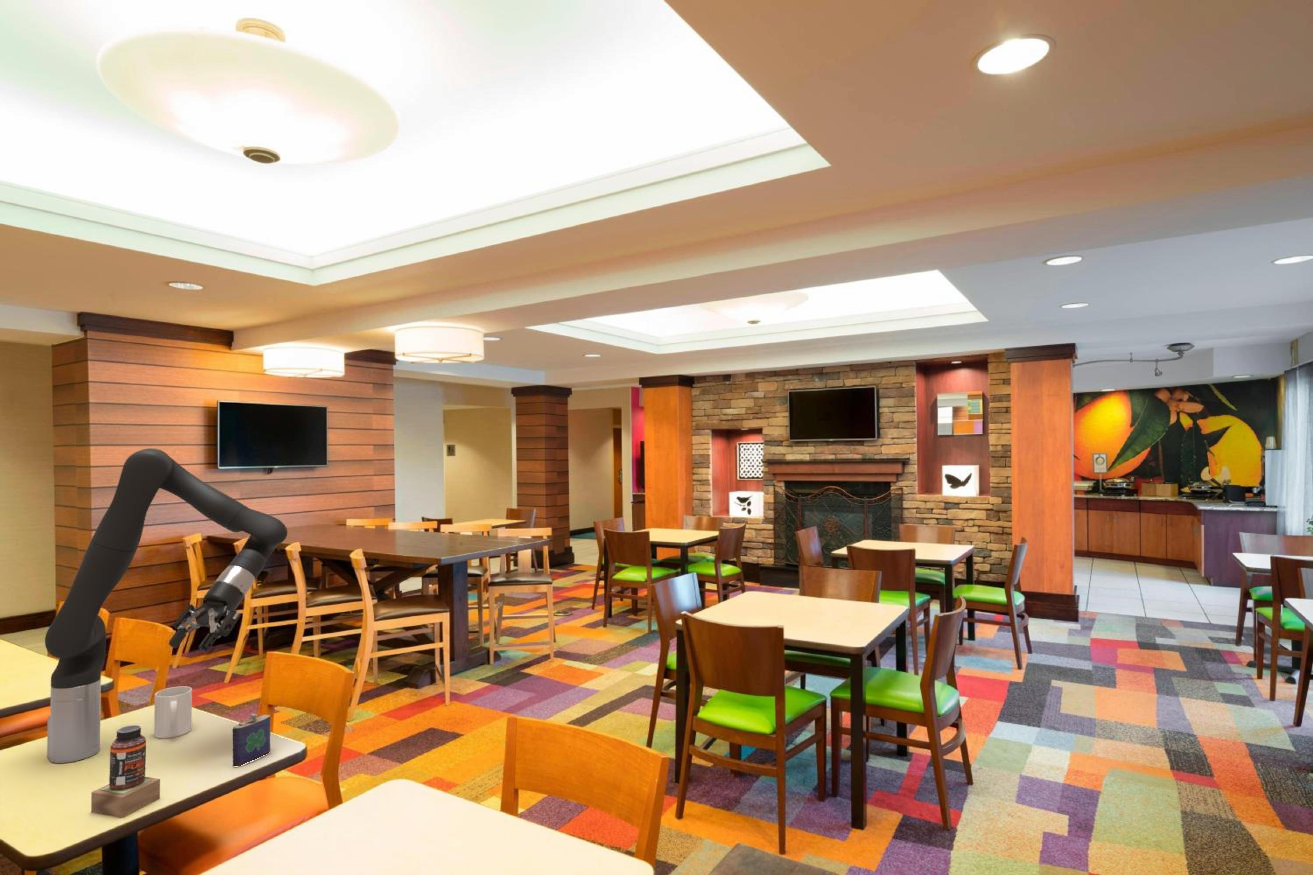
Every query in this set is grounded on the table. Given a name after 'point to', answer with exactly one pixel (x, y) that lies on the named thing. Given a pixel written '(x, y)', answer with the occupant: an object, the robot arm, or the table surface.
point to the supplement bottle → (127, 758)
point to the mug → (173, 712)
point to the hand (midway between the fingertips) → (186, 648)
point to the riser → (125, 798)
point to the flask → (251, 739)
